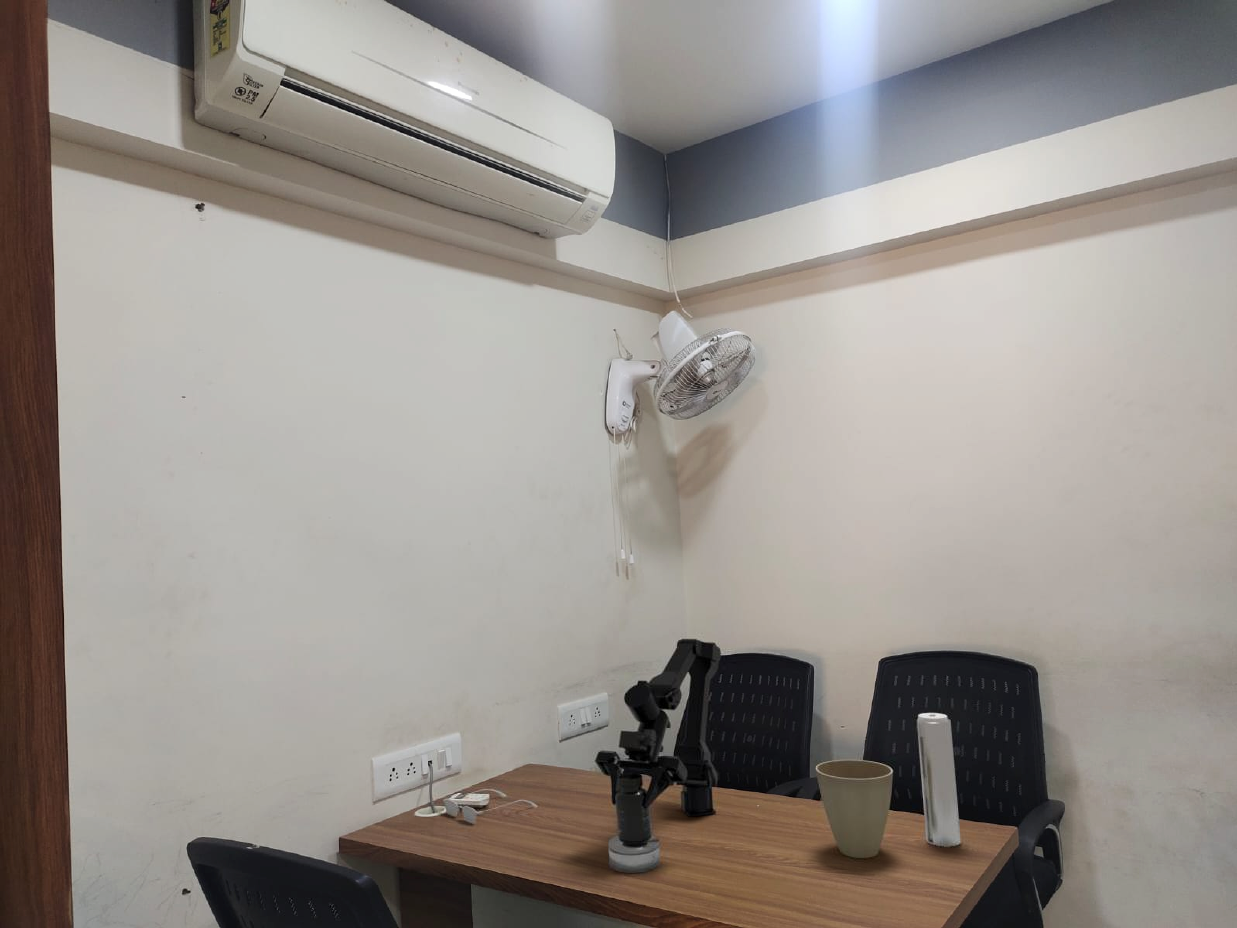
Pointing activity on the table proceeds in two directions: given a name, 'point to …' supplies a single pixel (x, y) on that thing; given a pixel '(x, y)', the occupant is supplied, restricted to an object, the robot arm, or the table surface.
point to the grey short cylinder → (634, 855)
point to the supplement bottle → (632, 810)
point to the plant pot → (856, 803)
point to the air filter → (938, 780)
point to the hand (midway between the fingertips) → (629, 805)
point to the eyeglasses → (469, 812)
